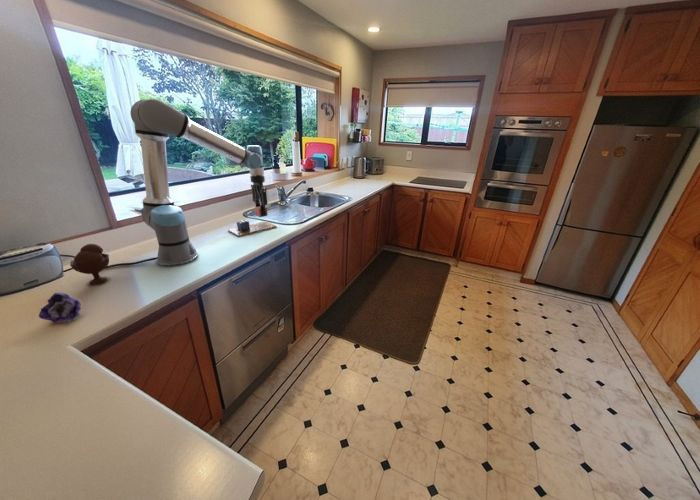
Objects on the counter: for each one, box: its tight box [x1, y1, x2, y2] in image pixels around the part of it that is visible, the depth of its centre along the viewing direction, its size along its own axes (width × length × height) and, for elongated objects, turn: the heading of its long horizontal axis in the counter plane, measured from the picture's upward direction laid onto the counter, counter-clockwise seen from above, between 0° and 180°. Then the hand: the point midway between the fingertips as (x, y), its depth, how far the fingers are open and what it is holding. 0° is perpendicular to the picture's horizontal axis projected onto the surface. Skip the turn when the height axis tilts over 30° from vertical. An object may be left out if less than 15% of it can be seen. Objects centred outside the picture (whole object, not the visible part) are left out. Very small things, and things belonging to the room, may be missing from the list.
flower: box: [38, 292, 82, 324], centre depth 86 cm, size 9×9×10 cm
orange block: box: [254, 206, 268, 218], centre depth 165 cm, size 5×5×5 cm
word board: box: [228, 220, 277, 238], centre depth 164 cm, size 24×12×1 cm, turn 135°
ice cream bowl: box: [69, 243, 110, 287], centre depth 103 cm, size 11×11×15 cm
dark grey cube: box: [236, 219, 250, 232], centre depth 159 cm, size 5×5×5 cm
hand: (261, 214), depth 165 cm, fingers closed on orange block, 5 cm apart
